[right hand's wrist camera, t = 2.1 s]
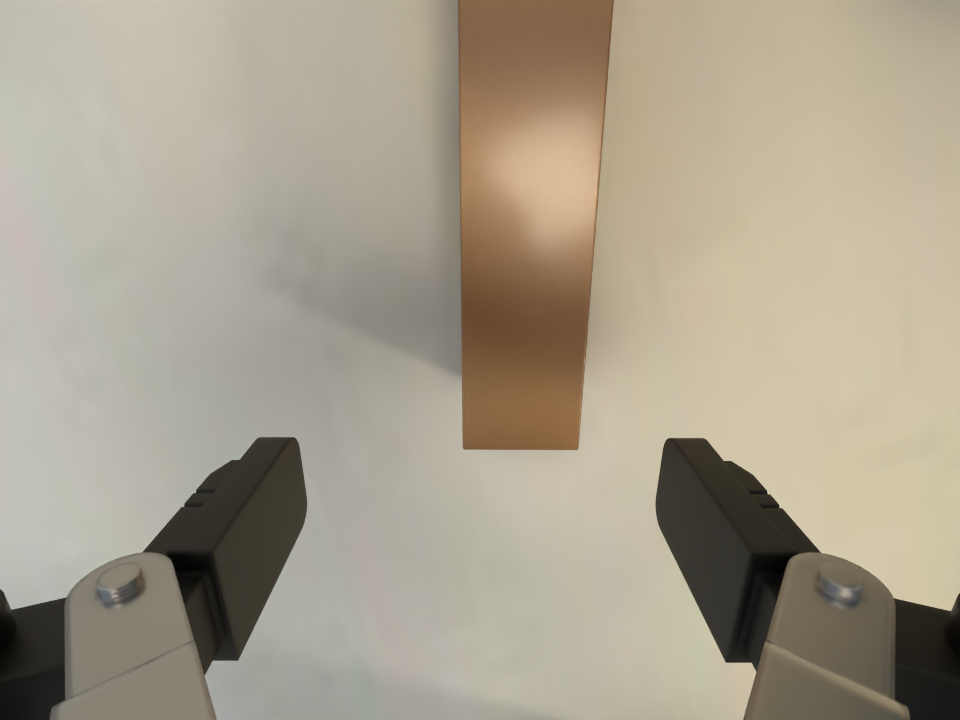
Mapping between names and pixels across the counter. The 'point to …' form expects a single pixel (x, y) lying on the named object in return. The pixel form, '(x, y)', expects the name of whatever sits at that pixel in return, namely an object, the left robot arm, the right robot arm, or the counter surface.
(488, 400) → the bar
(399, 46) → the counter surface
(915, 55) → the counter surface
